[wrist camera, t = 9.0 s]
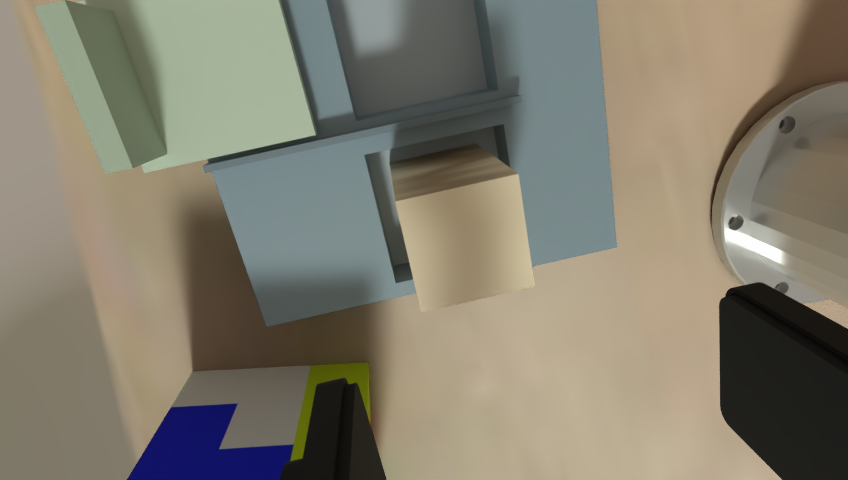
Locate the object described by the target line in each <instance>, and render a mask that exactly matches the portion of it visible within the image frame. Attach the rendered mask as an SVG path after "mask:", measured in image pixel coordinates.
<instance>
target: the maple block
mask: <svg viewBox="0 0 848 480" xmlns="http://www.w3.org/2000/svg"><path fill="white" fill-rule="evenodd" d="M389 164H390V171H391V177H392V184H393V190H394V197H395V203H396V207H397V211H398V216H399V220H400V224H401V229H402V233H403V237H404V241H405V246H406V250H407V254H408V259H409V263H410V267H411V271H412V276H413V280H414V284H415V289H416V293H417V297H418V301H419V306H420V310H421V312H426V311H430V310H435V309H439V308H443V307H448V306H452V305H456V304H461V303H465V302H469V301H474V300H478V299H483V298H487V297H491V296H496V295H500V294H504V293H509V292H513V291H517V290H522V289H526V288H531V287H535V284H534V277H533V270H532V263H531V256H530V249H529V243H528V236H527V229H526V222H525V215H524V208H523V201H522V194H521V187H520V181H519V174H518V173H517V172H515V171H514V170H512V169H511V168H510V167H508V166H507V165H506V164H504V163H503V162H501V161H500V160H499V159H497V158H496V157H495V156H493V155H492V154H490V153H489V152H488V151H486V150H485V149H483V148H482V147H481V146H479V145H478V144H477V143H475V144H470V145H466V146H461V147H457V148H452V149H448V150H443V151H439V152H434V153H430V154H425V155H421V156H416V157H412V158H407V159H403V160H399V161H394V162H390V163H389Z"/></svg>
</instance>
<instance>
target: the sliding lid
mask: <svg viewBox="0 0 848 480" xmlns="http://www.w3.org/2000/svg"><path fill="white" fill-rule="evenodd" d="M34 8H35V10H36V12H37V15H38V17H39V19H40V22H41V24H42V26H43V29H44V31H45V33H46V36H47V38H48V40H49V43H50V45H51V48H52V50H53V52H54V55H55V57H56V59H57V62H58V64H59V66H60V69H61V71H62V73H63V76H64V78H65V80H66V83H67V85H68V87H69V90H70V92H71V95H72V97H73V99H74V102H75V104H76V106H77V109H78V111H79V113H80V116H81V118H82V120H83V123H84V125H85V127H86V130H87V132H88V135H89V137H90V139H91V142H92V144H93V146H94V149H95V151H96V153H97V156H98V158H99V160H100V163H101V165H102V167H103V170H104V172H105V174H108V173H113V172H117V171H122V170H126V169H131V168H134V167H137V166H139V165H141V166H142V169H143V171H144V173H147V172H151V171H156V170H160V169H165V168H169V167H174V166H178V165H183V164H187V163H192V162H196V161H201V160H205V159H210V158H215V157H219V156H224V155H228V154H233V153H237V152H242V151H246V150H251V149H255V148H260V147H264V146H269V145H273V144H278V143H282V142H287V141H291V140H296V139H300V138H305V137H309V136H314V135H316V134H317V131H316V127H315V123H314V120H313V116H312V112H311V109H310V105H309V101H308V98H307V94H306V91H305V87H304V83H303V80H302V76H301V72H300V69H299V65H298V61H297V58H296V54H295V50H294V47H293V43H292V39H291V36H290V32H289V29H288V25H287V21H286V18H285V14H284V10H283V7H282V3H281V0H84V1H79V2H76V3H75V2H71V1H67V0H63V1H58V2H53V3H49V4H44V5H39V6H35V7H34Z"/></svg>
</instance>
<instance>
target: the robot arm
mask: <svg viewBox="0 0 848 480" xmlns="http://www.w3.org/2000/svg"><path fill="white" fill-rule="evenodd" d="M712 231H713V237H714V243H715V246H716V249H717V251H718V254H719V256H720V259H721V261H722V262H723V264H724V265H725V267H726V268H727V269H728V271H729V272H730V274H731V275H732V276H733V277H735V278H736V279H737V280H738V281H739V282H740V283H742V284H743V286H739V287H734V288H730V289H729V290H728V291H727V293H726V296H725V297H724V298H722V299H721V301H720V304H719V325H720V407H721V412H722V415H723V417H724V419H725V421H726V423H727V424H728V425H729V426H730V427H731V428H732V429H733V430H734V431H735V432H736V433H737V434H738V435H739V436H740V437H741V438H742V439H743V441H744V442H745V443H746V444H747V445H748V446H749V447H750V448H751V449H752V450H753V451H754V452H755V453H756V454H757V455H758V456H759V457H760V458H761V459H762V460H763V461H764V462H765V463H766V464H767V465H768V466H769V467H770V468H771V469H772V470H773V471H774V472H775V473H776V474H777V475H778V476H779V477H780V478H781V479H782V480H848V329H847V328H845V327H843V326H841V325H840V324H838V323H836V322H834V321H832V320H830V319H829V318H827V317H825V316H823V315H821V314H820V313H818V312H816V311H814V310H812V309H810V308H809V307H807V306H805V305H803V303H816V302H820V301H824V300H829V299H830V300H832V301H834V302H836V303H838V304H840V305H842V306H844V307H846V308H848V81H834V82H829V83H825V84H820V85H816V86H813V87H811V88H808V89H806V90H803V91H801V92H799V93H796V94H794V95H792V96H791V97H789V98H787V99H786V100H784V101H783V102H781V103H780V104H778V105H776V106H775V107H773V108H772V109H771V110H770V111H768V112H767V113H766V114H765V115H764V116H763V117H762V118H761V119H759V120H758V121H757V122H756V123H755V124H754V125H753V126H752V127H751V128H750V130H749V131H748V132H747V133H746V134H745V136H744V137H743V138H742V139H741V140H740V142H739V143H738V144H737V146H736V147H735V149H734V151H733V152H732V154H731V156H730V157H729V159H728V161H727V162H726V164H725V167H724V169H723V172H722V174H721V176H720V179H719V181H718V184H717V187H716V192H715V197H714V201H713V206H712ZM279 480H386V476H385V473H384V469H383V466H382V463H381V459H380V456H379V453H378V449H377V446H376V442H375V439H374V436H373V432H372V429H371V426H370V422H369V419H368V415H367V412H366V409H365V405H364V402H363V399H362V395H361V392H360V388H359V386H358V384H357V383H352V384H348V381H347V380H346V378H340V379H336V380H332V381H327V382H323V383H319V384H317V386H316V389H315V394H314V400H313V405H312V410H311V416H310V421H309V426H308V432H307V437H306V442H305V448H304V453H303V458H302V459H298V460H293V461H289V462H286V463H285V464H284V466H283V468H282V471H281V475H280V479H279Z"/></svg>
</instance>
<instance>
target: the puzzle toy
mask: <svg viewBox="0 0 848 480" xmlns="http://www.w3.org/2000/svg"><path fill="white" fill-rule="evenodd" d="M340 378H346V380H347V381H348V384H352V383H357V384H358V386H359V388H360V392H361V395H362V399H363V402H364V405H365V409H366V412H367V415H368V419H369V422H370V426H371V410H370V387H369V364H368V362H365V363H346V364H327V365H307V366H288V367H269V368H250V369H231V370H212V371H193V372H192V374H191V375H190V377H189V378H188V380H187V382H186V383H185V385H184V387H183V388H182V390H181V392H180V393H179V395H178V397H177V398H176V400H175V402H174V403H173V405H172V406H171V408H170V410H169V411H168V413H167V415H166V416H165V418H164V420H163V421H162V423H161V425H160V426H159V428H158V430H157V431H156V433H155V434H154V436H153V438H152V439H151V441H150V443H149V444H148V446H147V448H146V449H145V451H144V453H143V454H142V456H141V458H140V459H139V461H138V463H137V464H136V466H135V467H134V469H133V471H132V472H131V474H130V476H129V478H128V479H127V480H279V479H280V475H281V471H282V468H283V466H284V464H285V463H286V462H289V461H293V460H298V459H302V458H303V453H304V448H305V442H306V437H307V432H308V426H309V421H310V416H311V410H312V405H313V400H314V394H315V389H316V386H317V384H319V383H323V382H327V381H332V380H336V379H340Z"/></svg>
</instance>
